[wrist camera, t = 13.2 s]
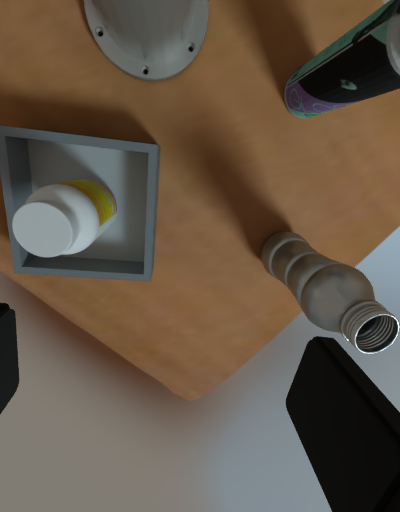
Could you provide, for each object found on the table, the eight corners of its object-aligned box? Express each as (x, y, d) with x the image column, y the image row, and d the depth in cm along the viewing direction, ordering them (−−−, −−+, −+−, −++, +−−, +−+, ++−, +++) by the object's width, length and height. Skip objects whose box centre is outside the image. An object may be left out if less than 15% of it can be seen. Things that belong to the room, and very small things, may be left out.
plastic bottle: (250, 265, 39) (320, 363, 20) (266, 222, 37) (360, 287, 18) (290, 274, 40) (390, 375, 21) (307, 233, 38) (435, 304, 19)
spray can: (279, 116, 32) (424, 54, 13) (288, 63, 30) (469, -93, 12) (321, 120, 33) (515, 67, 14) (332, 69, 31) (572, -71, 12)
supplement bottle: (78, 166, 31) (16, 170, 19) (128, 196, 33) (99, 216, 21) (56, 213, 33) (-14, 243, 21) (104, 239, 35) (65, 281, 23)
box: (21, 130, 30) (-7, 124, 26) (160, 147, 32) (157, 144, 27) (35, 258, 36) (14, 273, 31) (153, 266, 38) (150, 281, 33)
